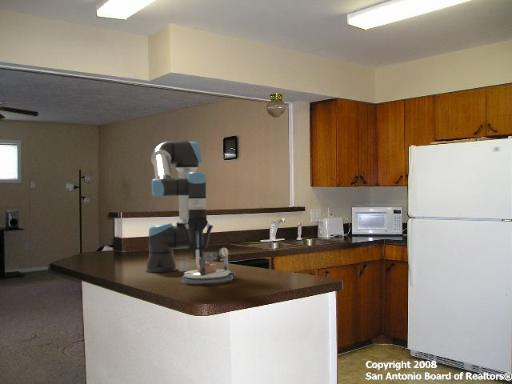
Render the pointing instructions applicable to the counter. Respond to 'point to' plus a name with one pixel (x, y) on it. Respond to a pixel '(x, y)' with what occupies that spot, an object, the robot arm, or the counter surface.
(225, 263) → the indicator stand
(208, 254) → the mechanical component
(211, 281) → the turntable base
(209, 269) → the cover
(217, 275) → the platter
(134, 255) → the counter surface
